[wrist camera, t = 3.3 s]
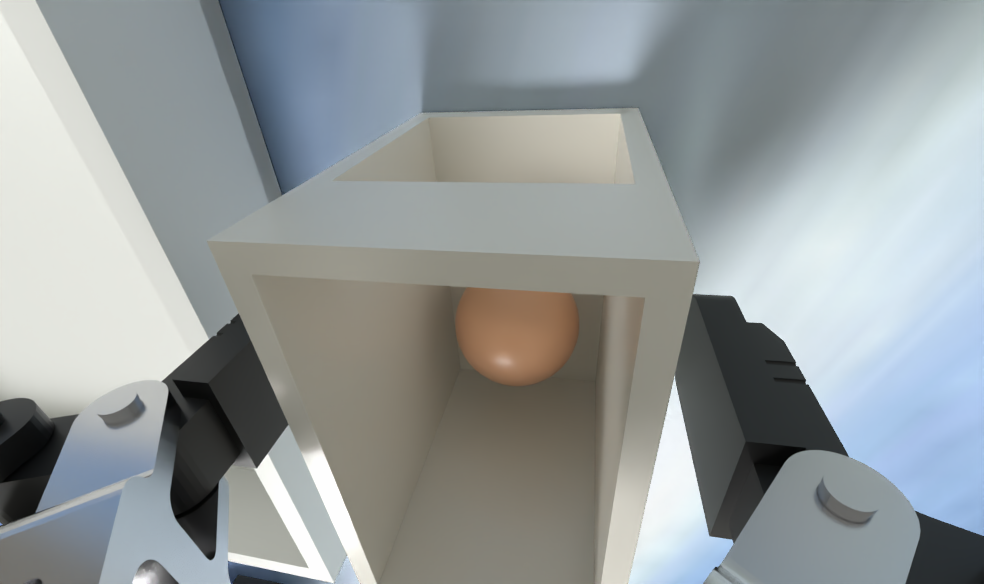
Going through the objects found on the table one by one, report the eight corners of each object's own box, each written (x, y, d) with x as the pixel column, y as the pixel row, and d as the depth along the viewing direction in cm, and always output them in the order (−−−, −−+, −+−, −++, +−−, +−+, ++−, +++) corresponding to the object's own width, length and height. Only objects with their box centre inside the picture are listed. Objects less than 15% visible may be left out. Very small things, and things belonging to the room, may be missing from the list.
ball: (579, 291, 12) (585, 242, 10) (574, 400, 11) (578, 379, 9) (475, 285, 13) (452, 237, 10) (461, 388, 12) (430, 365, 9)
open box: (638, 107, 10) (699, 260, 4) (607, 379, 14) (614, 644, 8) (420, 113, 11) (205, 240, 5) (454, 364, 15) (363, 591, 9)
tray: (190, -84, 9) (-34, -135, 6) (377, 488, 20) (334, 583, 17) (-370, -11, 13) (-690, -16, 10) (37, 434, 24) (-52, 502, 21)
